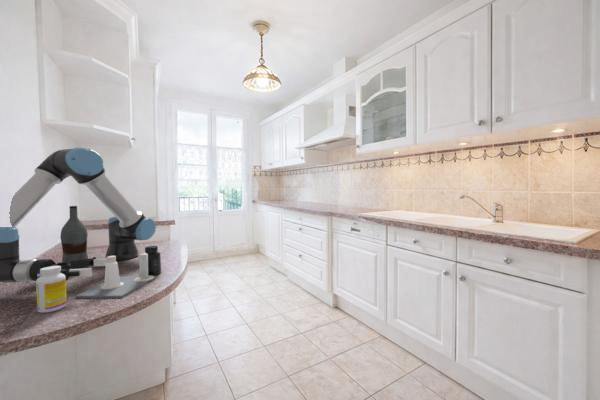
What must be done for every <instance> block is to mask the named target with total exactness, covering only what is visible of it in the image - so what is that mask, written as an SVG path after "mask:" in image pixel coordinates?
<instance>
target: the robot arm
mask: <svg viewBox="0 0 600 400" xmlns="http://www.w3.org/2000/svg"><path fill="white" fill-rule="evenodd" d="M33 170H34V174H33V175H32V176H31V177H30V178H29V179H28V180H27V181H26V182H25V183H24V184H23V185H22V186H21V187H20V188H18V190H17V191H16V192H15V193H14V194H15V195H14V194H13V195H14V196H13V195H12V196H13V198H12V201H11V206H10V212H9V214H10V217H9V218H10V223H11V225H12V227H0V282H3V283H2V284H8V283H22V282H23V283H24V282H25V284H28V283H30V282H36V280H37V279H38V278H39V277H41V273H40V269H41V268H45V267H50V266H61V271H60V273H61V274H64V275H65V277H66V281H69V278H70V279H71V278H85V277H86V278H89V277H92V276H93V267H106V263H107V257H108V256H116V261H123V260H124V261H125V260H129V259H133V257H134V258H137V257H139V250H138V248H137V245H136V242H135V241H148V240H150V239H151V238H152V237H153V236H154V235H155V232H156V228H157V223H156V222H155V220H153V219H152V218H151V217H146V216H145V214H143V212H141V211H140V210H136V209H135V208H134V207H133V206H132V205H131V203H129V200H127V199H126V197H125V196H124V195H123V194H122V193H121V192H120V190H119V189H118V188H117V187H116V186H115V184H113V183H112V181H111V180H110V179H109V178H108V177H107V175H106V169H105V167H104V159H103V157H102V156H101V155H100V154H99V153H98V152H97V151H95V150H94V149H92V148H87V147H74V148H68V149H66V148H65V149H64V148H63V149H58V150H56V151H54V152H52V153H51V154H49V156H47V157H46V158H45V159H44V160H42V162H41V163H40V164H39V165H38V166H37V167H35V169H33ZM69 177H72V178H73V179H74V180H75V181H76V183H77V184H79V185H84V186H86V187H87V188H88V189H89V191H91V193H93V194H94V196H95V198H98V200H99V201H100V203H102V204H103V205H104V206H105V207H106V208H107V209H108V210H109V212H111V214H113V216H112V217H109V218H108V221H107V222H108V223H107V226H108V229H107V230H108V246H107V250H106V253H105V256H104V257H105V258H97V257H96V256H93V257H92V258H88V259H82V260H74V261H65V262H62V261H60V262H55V261H54V259H51V258H41V259H38V258H37V259H20V235H19V229H18V227H17V226H18V224H20V223H21V222H22V221H23V220H24V218H25V217H27V215H29V213H30V212H31V211H32V210H33V209H34V208H35V207H36V205H38V204H39V202H40V201H41V200H42V199H43V198H44V197H45V196H46V195H47V194H48V193H49V192H50V190H52V189H53V188H54V186H56V185H60V184H61V183H62V182H63V181H64V180H65V179H67V178H69ZM136 256H137V257H136ZM83 267H88V268H85V269H78V268H83ZM69 268H70V269H69ZM68 271H69V272H68Z"/></svg>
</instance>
